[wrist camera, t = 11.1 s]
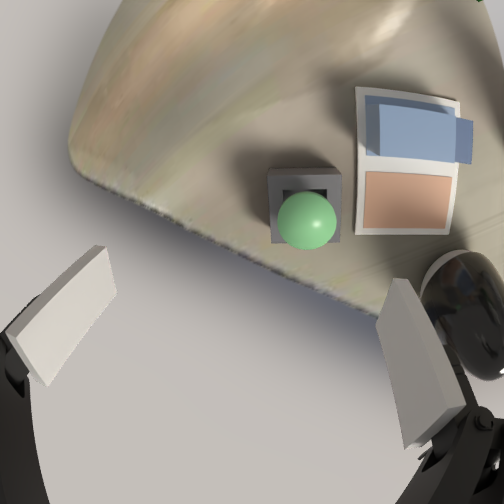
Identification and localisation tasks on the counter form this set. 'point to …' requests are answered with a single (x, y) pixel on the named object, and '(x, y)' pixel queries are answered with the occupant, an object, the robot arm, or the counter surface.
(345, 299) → the counter surface
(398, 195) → the picture board
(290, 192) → the button housing
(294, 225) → the button
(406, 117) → the block
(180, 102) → the counter surface
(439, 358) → the robot arm
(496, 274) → the pump dispenser
